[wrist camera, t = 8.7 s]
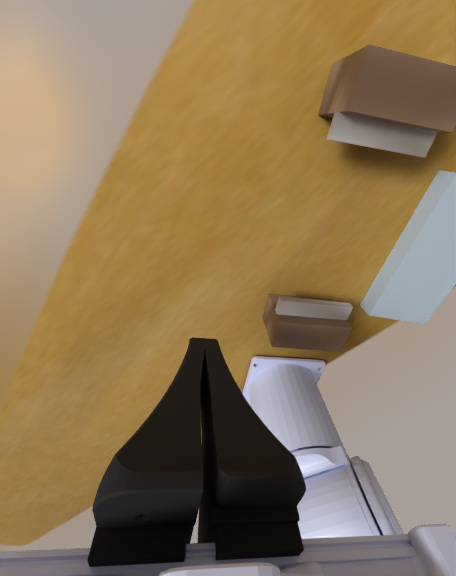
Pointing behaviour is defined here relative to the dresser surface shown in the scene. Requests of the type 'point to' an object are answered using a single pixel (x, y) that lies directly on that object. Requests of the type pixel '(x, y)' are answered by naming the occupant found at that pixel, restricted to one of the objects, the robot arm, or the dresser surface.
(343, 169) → the dresser surface
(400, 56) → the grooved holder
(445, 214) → the cover plate
